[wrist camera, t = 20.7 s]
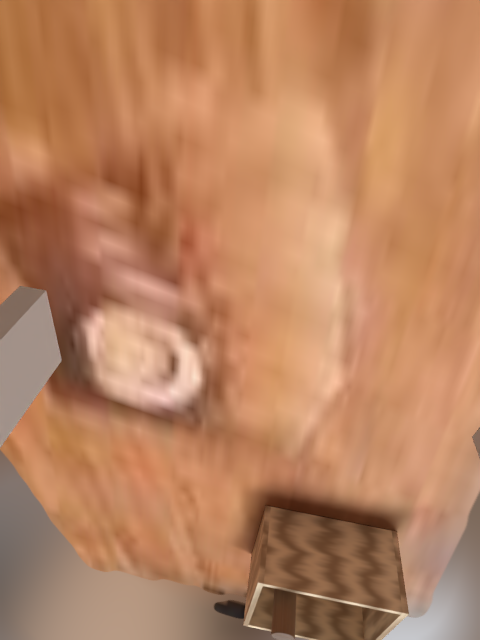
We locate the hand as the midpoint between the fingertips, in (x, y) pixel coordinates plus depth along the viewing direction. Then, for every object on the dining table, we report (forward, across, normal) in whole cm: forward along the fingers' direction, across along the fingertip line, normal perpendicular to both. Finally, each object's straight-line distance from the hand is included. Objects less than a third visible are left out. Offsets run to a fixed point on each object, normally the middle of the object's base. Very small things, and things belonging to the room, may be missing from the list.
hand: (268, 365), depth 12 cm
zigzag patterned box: (+35, +20, -83) cm, 92 cm away
